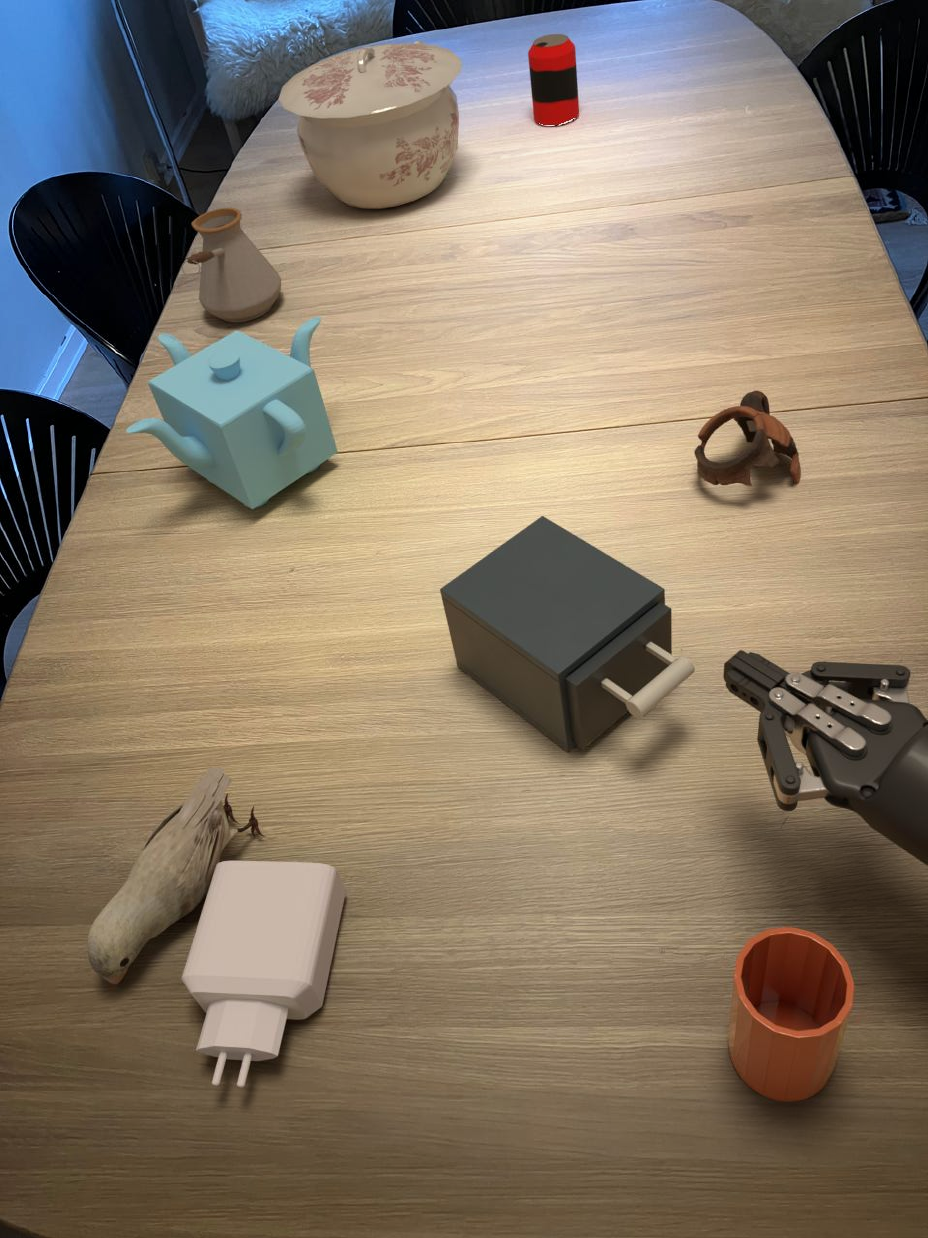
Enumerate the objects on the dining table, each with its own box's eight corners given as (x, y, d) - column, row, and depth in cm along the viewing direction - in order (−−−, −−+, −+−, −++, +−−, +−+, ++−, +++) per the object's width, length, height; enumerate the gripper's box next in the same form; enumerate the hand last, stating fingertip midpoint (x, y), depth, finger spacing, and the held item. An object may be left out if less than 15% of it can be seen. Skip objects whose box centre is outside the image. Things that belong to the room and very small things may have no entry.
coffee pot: (214, 292, 148) (178, 189, 137) (292, 281, 146) (261, 177, 136) (183, 375, 133) (140, 267, 122) (269, 365, 132) (234, 255, 121)
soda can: (524, 122, 174) (517, 44, 165) (556, 105, 177) (550, 28, 168) (557, 130, 169) (551, 51, 161) (588, 113, 172) (584, 35, 164)
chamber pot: (339, 249, 151) (303, 102, 136) (285, 186, 170) (248, 51, 155) (510, 190, 156) (493, 42, 142) (440, 136, 175) (418, 0, 160)
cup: (816, 994, 67) (833, 921, 60) (847, 1096, 63) (870, 1030, 56) (718, 1005, 68) (723, 934, 60) (741, 1107, 63) (750, 1043, 56)
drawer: (712, 700, 84) (715, 635, 78) (623, 780, 80) (619, 717, 74) (565, 603, 94) (558, 538, 88) (478, 669, 90) (465, 606, 84)
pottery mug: (809, 506, 100) (773, 459, 94) (718, 529, 105) (680, 486, 100) (808, 408, 105) (775, 359, 100) (722, 435, 111) (686, 390, 105)
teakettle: (334, 514, 109) (299, 397, 98) (164, 533, 111) (111, 419, 100) (349, 410, 122) (319, 297, 111) (196, 428, 124) (153, 319, 113)
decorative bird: (86, 972, 76) (42, 924, 71) (226, 806, 85) (196, 751, 79) (137, 1006, 74) (95, 958, 68) (276, 831, 82) (248, 777, 77)
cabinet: (665, 670, 88) (665, 588, 81) (567, 753, 83) (558, 674, 76) (552, 595, 96) (542, 515, 89) (457, 667, 91) (439, 588, 84)
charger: (173, 1095, 69) (232, 891, 79) (306, 1104, 67) (348, 895, 77) (148, 1069, 65) (213, 859, 76) (286, 1077, 64) (334, 862, 74)
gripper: (896, 926, 59) (664, 756, 69) (1021, 784, 64) (788, 645, 74) (918, 859, 54) (663, 685, 64) (1054, 710, 59) (797, 571, 69)
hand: (731, 664), depth 69 cm, fingers closed
